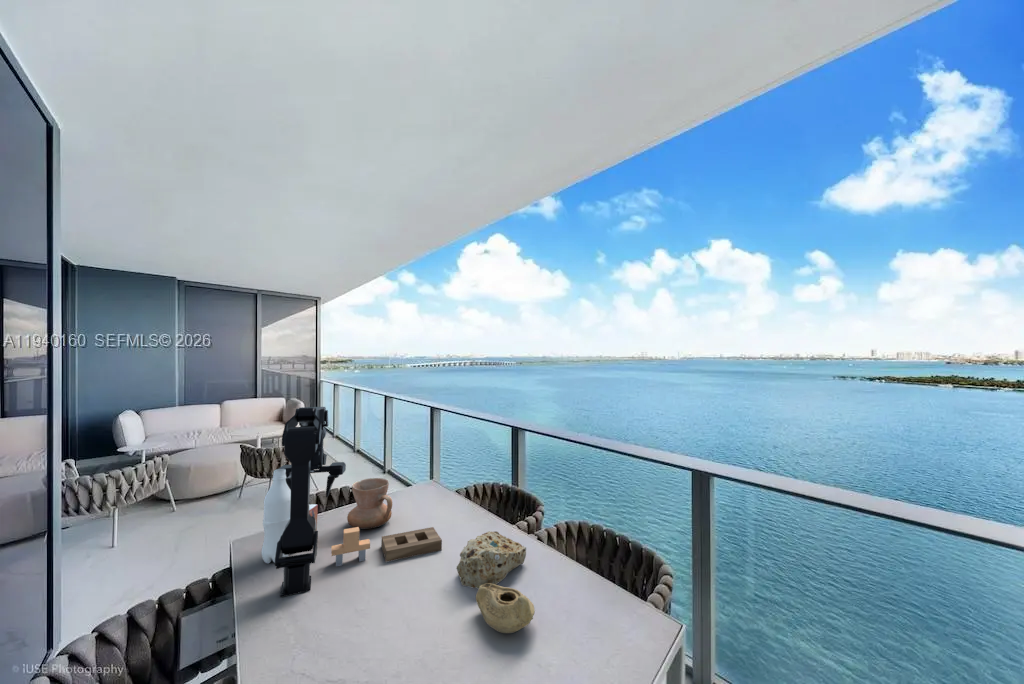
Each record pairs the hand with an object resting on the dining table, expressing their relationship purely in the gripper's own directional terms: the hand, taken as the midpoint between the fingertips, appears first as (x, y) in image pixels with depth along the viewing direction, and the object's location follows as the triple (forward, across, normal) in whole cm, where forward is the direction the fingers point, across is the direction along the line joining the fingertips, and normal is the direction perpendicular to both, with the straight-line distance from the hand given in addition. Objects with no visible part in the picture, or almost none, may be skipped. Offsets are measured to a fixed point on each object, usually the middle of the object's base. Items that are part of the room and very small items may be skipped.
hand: (311, 498), depth 119 cm
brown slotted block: (+14, -31, +10) cm, 35 cm away
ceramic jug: (+14, -17, -11) cm, 24 cm away
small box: (+14, +2, -1) cm, 14 cm away
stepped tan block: (+14, -14, +13) cm, 24 cm away
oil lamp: (+15, -51, +48) cm, 72 cm away
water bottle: (+14, +7, +8) cm, 18 cm away
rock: (+15, -52, +27) cm, 61 cm away
